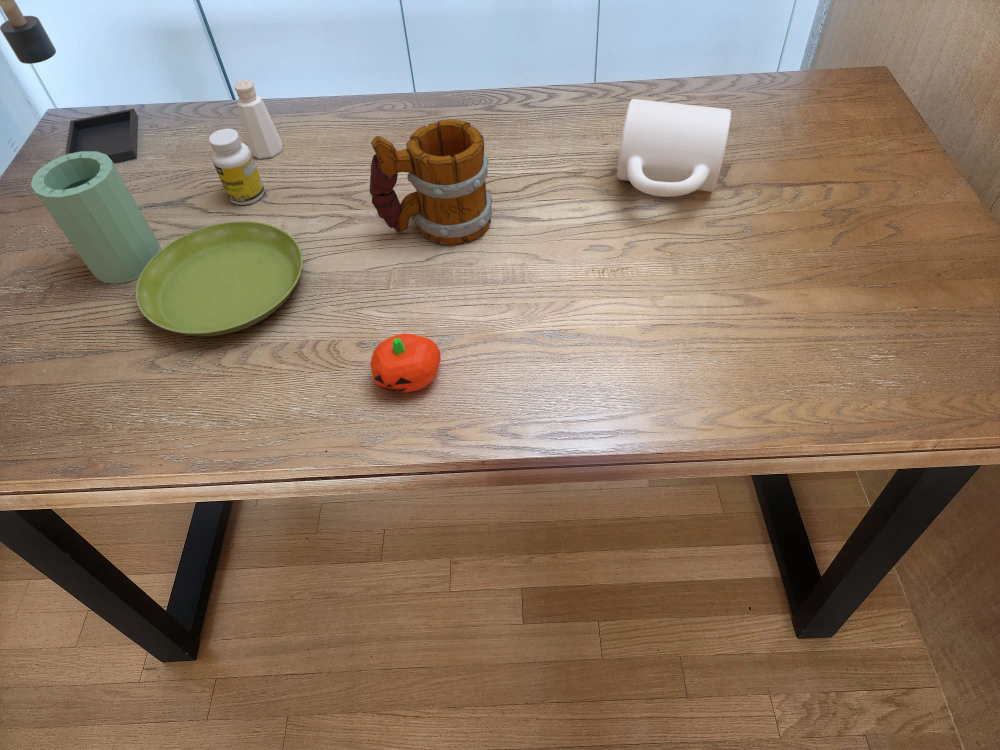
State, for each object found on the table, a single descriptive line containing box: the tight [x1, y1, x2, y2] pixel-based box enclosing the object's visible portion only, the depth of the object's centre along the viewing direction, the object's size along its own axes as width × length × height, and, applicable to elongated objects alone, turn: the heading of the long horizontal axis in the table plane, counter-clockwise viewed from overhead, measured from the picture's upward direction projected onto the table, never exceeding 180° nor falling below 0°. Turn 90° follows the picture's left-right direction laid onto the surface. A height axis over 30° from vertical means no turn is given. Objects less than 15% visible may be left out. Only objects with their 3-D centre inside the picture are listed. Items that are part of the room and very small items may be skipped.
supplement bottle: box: [208, 128, 265, 206], centre depth 95 cm, size 5×5×10 cm
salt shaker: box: [233, 79, 283, 160], centre depth 102 cm, size 5×5×11 cm
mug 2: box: [616, 98, 732, 198], centre depth 92 cm, size 16×14×11 cm
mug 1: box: [369, 119, 493, 246], centre depth 87 cm, size 11×16×15 cm, turn 108°
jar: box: [30, 151, 163, 285], centre depth 86 cm, size 9×9×14 cm
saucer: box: [135, 220, 304, 337], centre depth 85 cm, size 21×21×3 cm
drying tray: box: [64, 108, 139, 165], centre depth 108 cm, size 13×10×2 cm
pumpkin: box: [370, 332, 442, 394], centre depth 74 cm, size 7×8×6 cm
